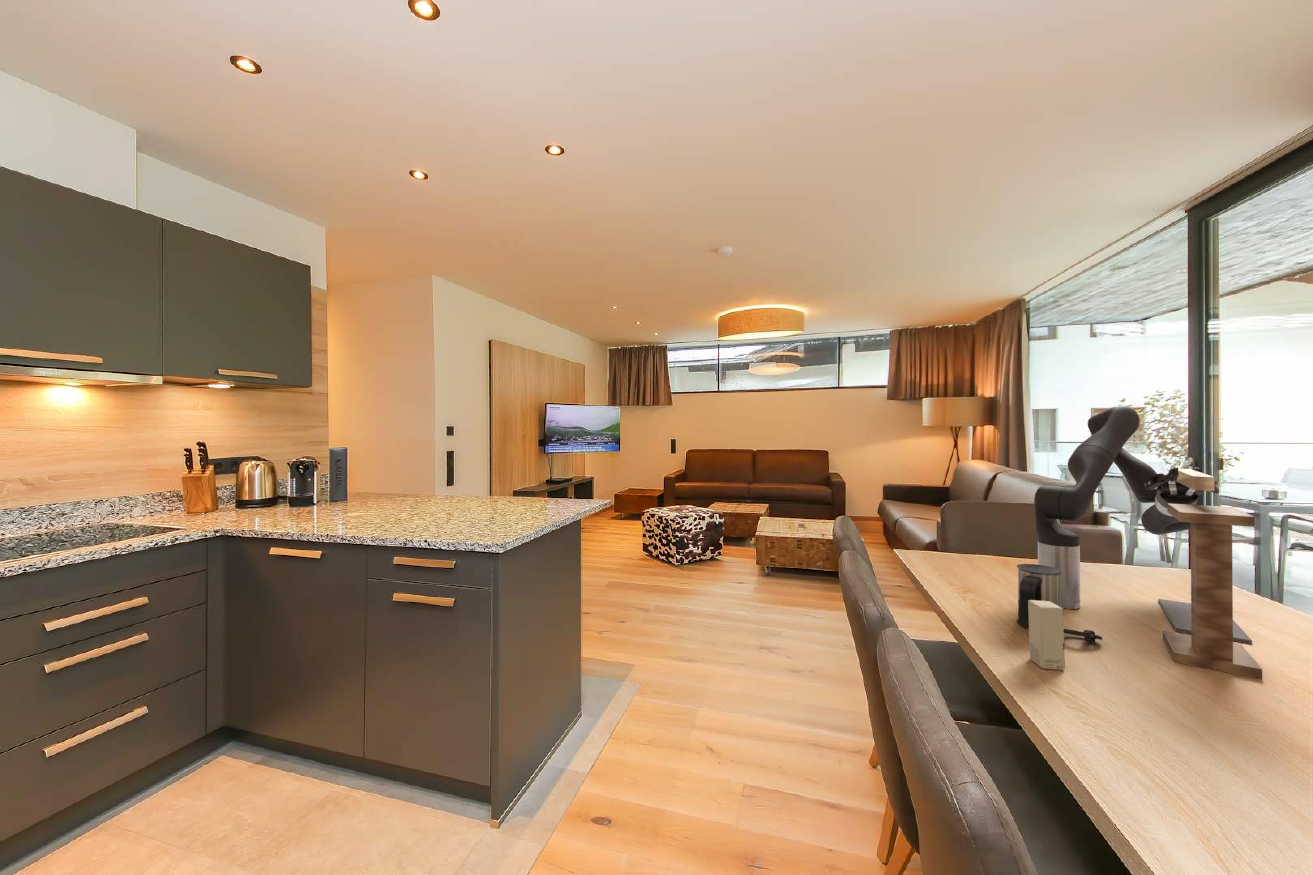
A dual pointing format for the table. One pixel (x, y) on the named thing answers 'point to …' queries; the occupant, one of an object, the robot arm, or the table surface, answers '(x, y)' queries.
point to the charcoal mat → (1182, 619)
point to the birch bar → (1195, 480)
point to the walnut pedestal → (1211, 593)
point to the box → (1046, 634)
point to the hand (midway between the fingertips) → (1187, 470)
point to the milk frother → (1042, 593)
